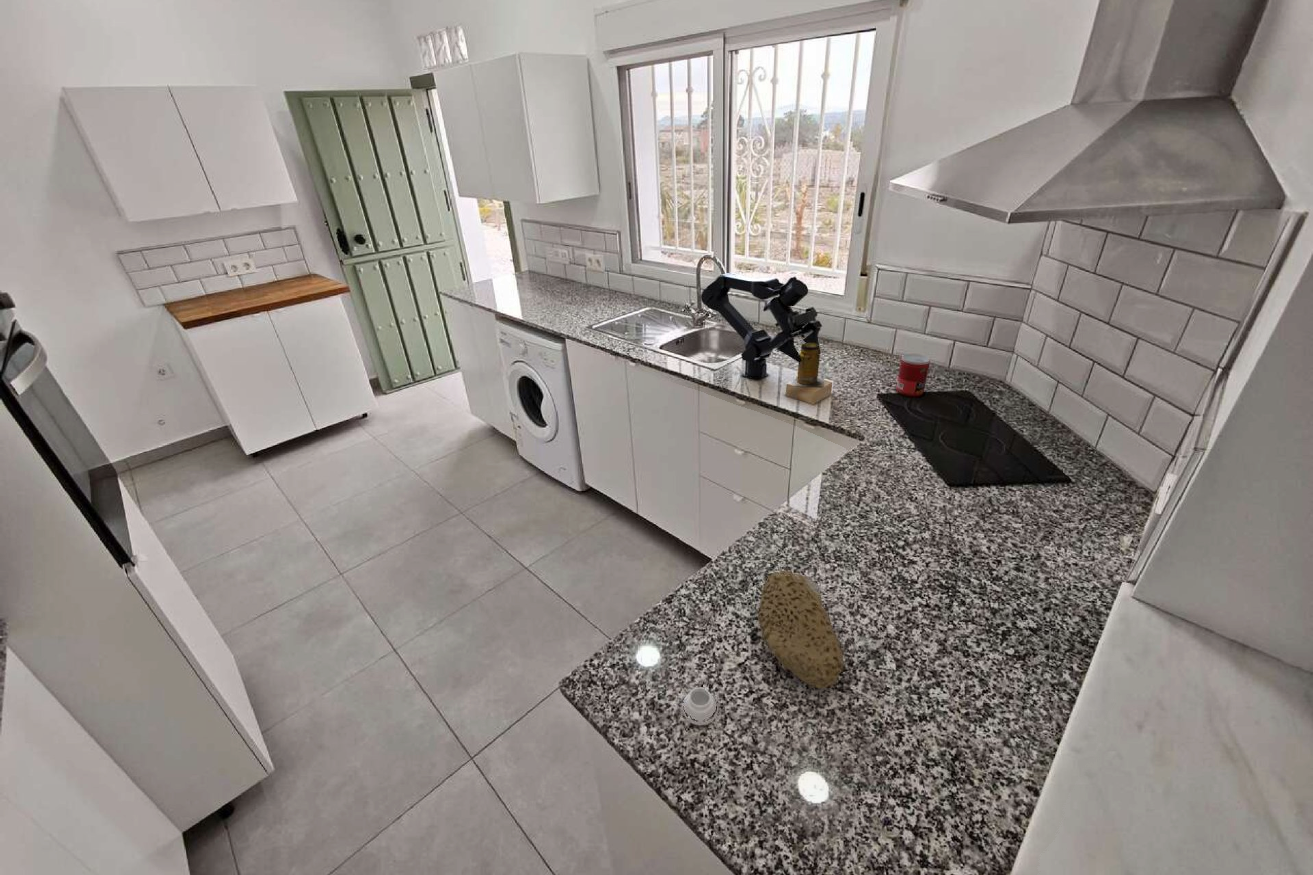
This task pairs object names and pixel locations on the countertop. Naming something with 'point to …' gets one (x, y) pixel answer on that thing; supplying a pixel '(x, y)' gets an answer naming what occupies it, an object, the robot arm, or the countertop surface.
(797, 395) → the block
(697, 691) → the white jar
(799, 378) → the condiment
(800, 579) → the sponge
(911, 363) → the canned food
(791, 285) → the robot arm
